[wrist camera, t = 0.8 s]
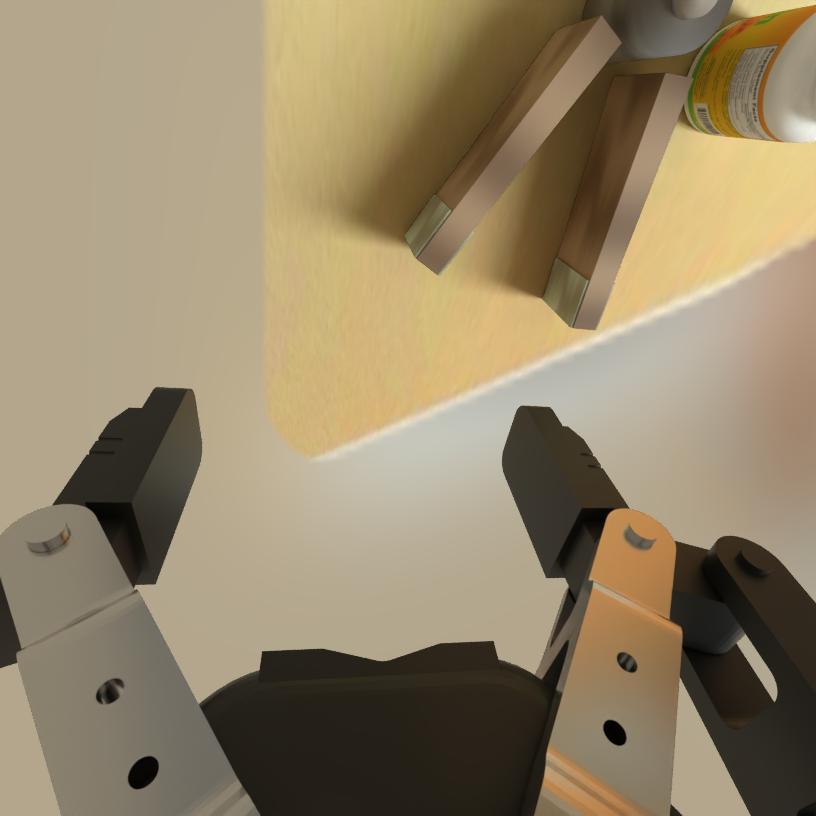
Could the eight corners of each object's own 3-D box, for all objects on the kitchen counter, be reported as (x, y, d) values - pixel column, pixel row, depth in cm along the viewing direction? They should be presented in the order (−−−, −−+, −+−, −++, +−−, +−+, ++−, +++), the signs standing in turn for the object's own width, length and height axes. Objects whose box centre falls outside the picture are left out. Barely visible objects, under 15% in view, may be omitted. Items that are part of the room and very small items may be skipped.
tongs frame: (598, -45, 23) (682, -91, 17) (676, -25, 23) (781, -64, 18) (507, 295, 32) (542, 337, 27) (565, 301, 33) (611, 343, 27)
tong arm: (555, 26, 24) (599, 12, 20) (577, 53, 25) (623, 45, 21) (404, 234, 29) (414, 257, 25) (426, 251, 30) (439, 276, 26)
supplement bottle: (790, 18, 25) (999, -19, 17) (751, 132, 28) (913, 146, 20) (697, 20, 25) (868, -17, 17) (668, 136, 28) (800, 152, 20)
